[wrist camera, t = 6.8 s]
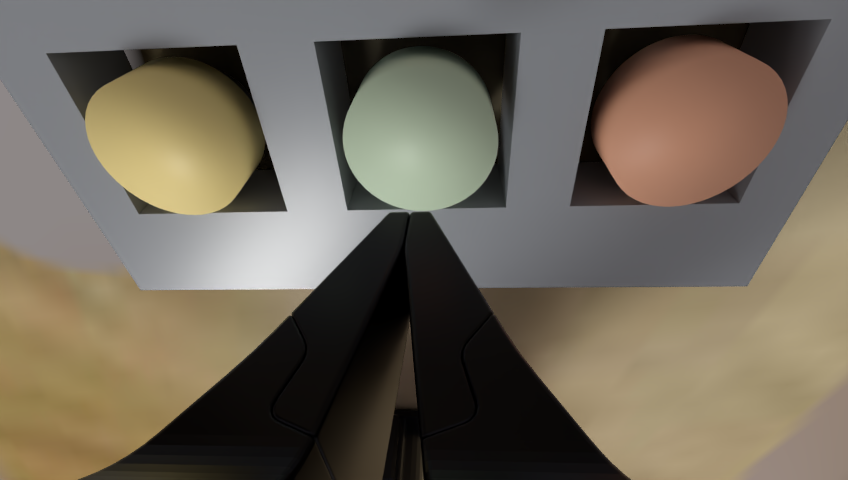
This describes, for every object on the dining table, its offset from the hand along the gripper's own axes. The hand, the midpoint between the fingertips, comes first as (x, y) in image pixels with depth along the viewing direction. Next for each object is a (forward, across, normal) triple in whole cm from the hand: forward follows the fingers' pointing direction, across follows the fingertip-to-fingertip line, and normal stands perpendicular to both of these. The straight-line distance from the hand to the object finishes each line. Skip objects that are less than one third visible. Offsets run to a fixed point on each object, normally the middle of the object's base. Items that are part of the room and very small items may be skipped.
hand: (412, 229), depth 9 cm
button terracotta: (+8, -7, 0) cm, 11 cm away
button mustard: (+7, +7, 0) cm, 11 cm away
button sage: (+7, 0, 0) cm, 7 cm away
